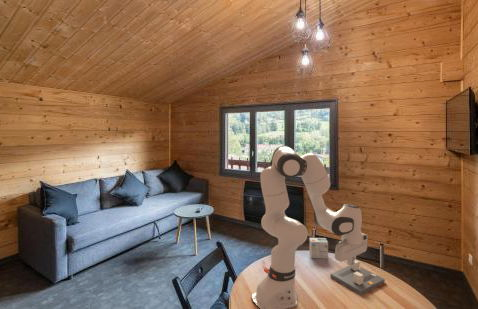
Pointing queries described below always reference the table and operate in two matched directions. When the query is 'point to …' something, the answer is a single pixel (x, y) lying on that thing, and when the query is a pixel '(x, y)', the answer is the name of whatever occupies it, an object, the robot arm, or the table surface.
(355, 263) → the white slider knob
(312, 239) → the light bulb box
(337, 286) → the table surface
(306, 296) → the table surface
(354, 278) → the block
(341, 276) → the panel
